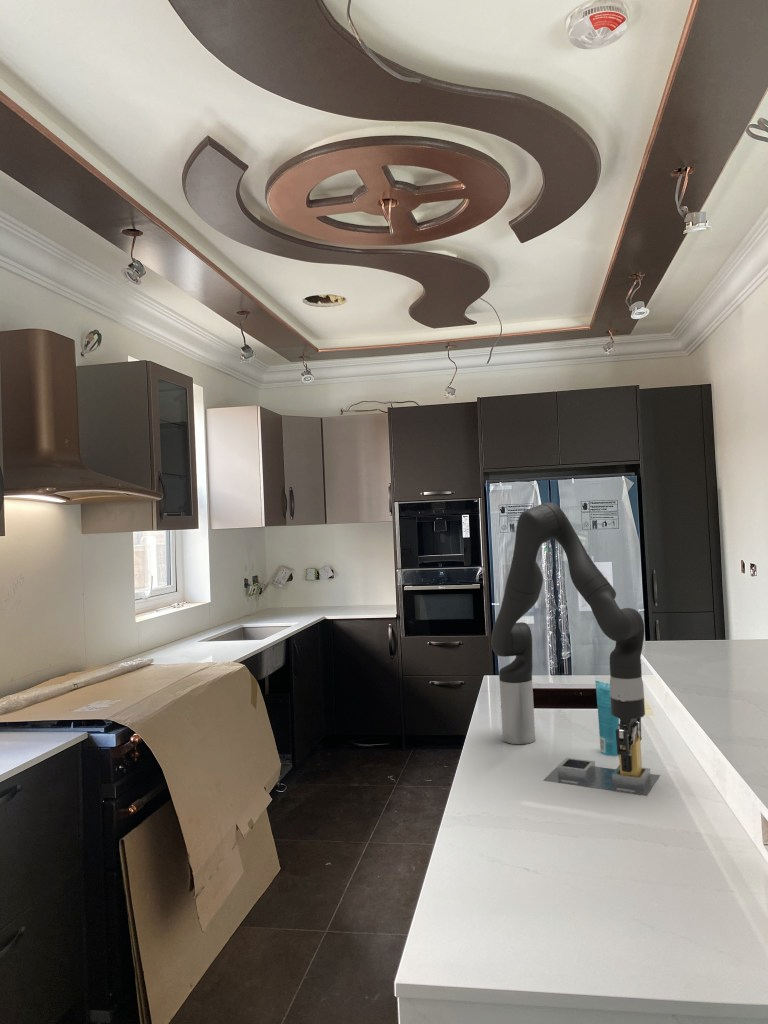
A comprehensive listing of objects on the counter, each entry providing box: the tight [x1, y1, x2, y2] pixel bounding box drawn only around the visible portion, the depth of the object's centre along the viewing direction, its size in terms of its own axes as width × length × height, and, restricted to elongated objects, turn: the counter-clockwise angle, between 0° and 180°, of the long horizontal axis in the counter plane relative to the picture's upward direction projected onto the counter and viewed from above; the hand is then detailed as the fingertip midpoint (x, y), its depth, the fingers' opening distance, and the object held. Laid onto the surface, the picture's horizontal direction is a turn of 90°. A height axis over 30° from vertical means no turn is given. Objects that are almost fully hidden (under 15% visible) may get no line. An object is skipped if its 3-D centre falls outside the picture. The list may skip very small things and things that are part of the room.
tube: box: [594, 680, 620, 757], centre depth 196 cm, size 7×5×19 cm, turn 39°
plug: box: [618, 736, 643, 777], centre depth 174 cm, size 4×4×11 cm
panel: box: [542, 757, 661, 797], centre depth 178 cm, size 14×24×4 cm, turn 58°
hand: (630, 766), depth 174 cm, fingers open, 6 cm apart
